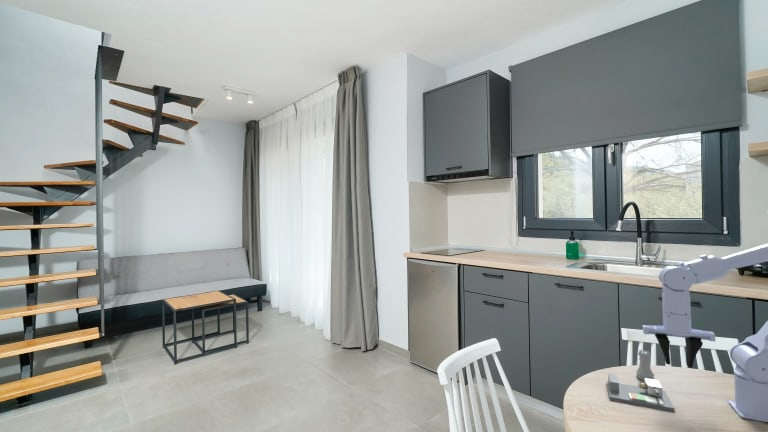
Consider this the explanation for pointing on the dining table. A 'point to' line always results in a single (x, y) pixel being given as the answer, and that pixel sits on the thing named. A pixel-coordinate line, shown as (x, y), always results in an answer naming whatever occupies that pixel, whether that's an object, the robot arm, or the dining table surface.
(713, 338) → the robot arm
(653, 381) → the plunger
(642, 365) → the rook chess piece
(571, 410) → the dining table surface
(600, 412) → the dining table surface
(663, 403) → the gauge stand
